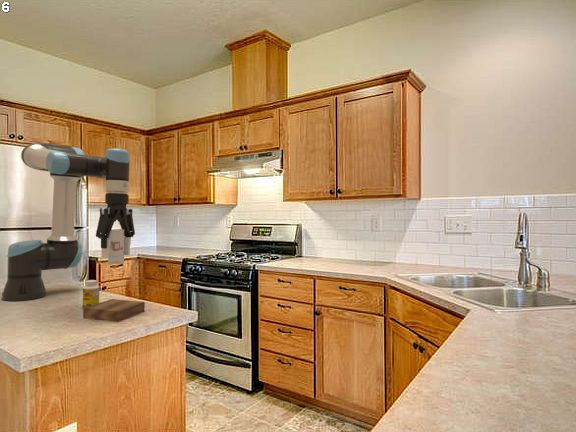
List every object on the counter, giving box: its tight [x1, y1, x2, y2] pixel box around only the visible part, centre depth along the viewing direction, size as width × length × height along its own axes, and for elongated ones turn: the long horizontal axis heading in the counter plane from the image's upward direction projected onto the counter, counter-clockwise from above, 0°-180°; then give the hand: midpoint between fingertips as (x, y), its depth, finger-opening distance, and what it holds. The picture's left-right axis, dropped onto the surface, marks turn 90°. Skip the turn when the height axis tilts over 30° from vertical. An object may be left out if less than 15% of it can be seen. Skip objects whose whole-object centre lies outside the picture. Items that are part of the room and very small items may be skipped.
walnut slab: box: [82, 298, 146, 323], centre depth 133 cm, size 14×14×4 cm
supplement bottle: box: [82, 279, 100, 308], centre depth 141 cm, size 6×6×10 cm
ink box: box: [107, 228, 125, 265], centre depth 132 cm, size 9×5×12 cm, turn 21°
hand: (116, 256), depth 132 cm, fingers closed on ink box, 9 cm apart
